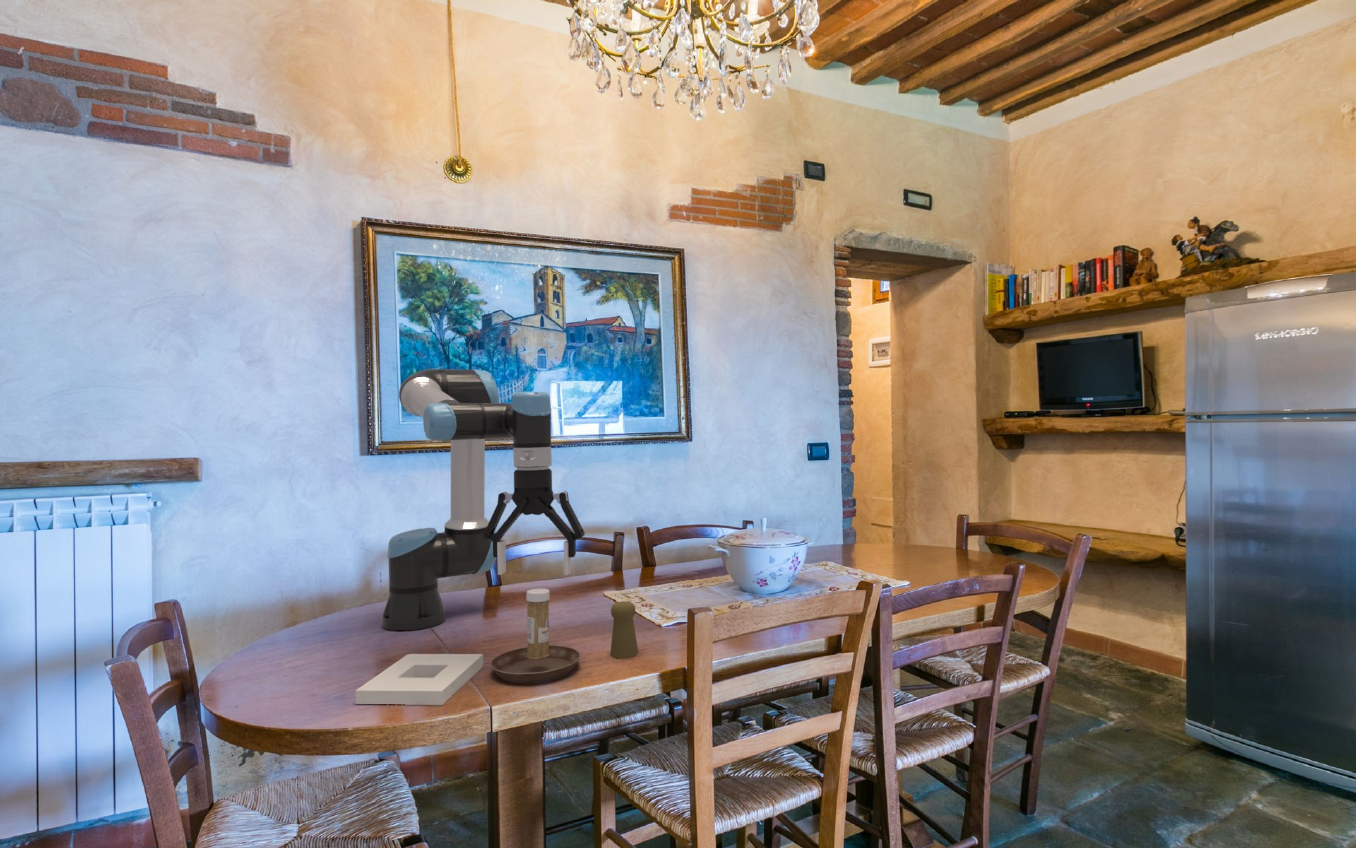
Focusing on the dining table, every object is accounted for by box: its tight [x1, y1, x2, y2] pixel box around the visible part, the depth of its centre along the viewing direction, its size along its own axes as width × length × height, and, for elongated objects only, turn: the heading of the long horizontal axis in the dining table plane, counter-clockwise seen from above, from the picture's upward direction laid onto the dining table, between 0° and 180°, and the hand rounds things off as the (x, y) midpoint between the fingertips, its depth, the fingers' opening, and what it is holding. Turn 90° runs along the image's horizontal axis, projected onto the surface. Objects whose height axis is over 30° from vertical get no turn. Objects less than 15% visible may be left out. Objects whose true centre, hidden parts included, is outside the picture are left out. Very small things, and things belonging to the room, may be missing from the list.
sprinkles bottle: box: [525, 588, 551, 660], centre depth 140 cm, size 5×5×14 cm
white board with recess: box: [355, 653, 484, 706], centre depth 134 cm, size 20×16×2 cm
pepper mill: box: [609, 600, 639, 660], centre depth 149 cm, size 6×6×11 cm
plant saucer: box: [490, 644, 581, 685], centre depth 140 cm, size 18×18×3 cm
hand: (534, 573), depth 140 cm, fingers open, 13 cm apart
